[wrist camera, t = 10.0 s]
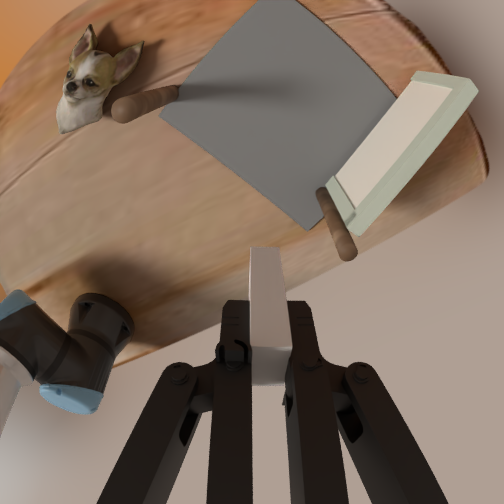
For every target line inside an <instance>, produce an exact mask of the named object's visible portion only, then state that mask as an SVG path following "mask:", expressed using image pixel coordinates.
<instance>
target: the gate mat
mask: <svg viewBox="0 0 504 504" xmlns="http://www.w3.org/2000/svg"><path fill="white" fill-rule="evenodd" d="M178 91H179V96H178V98H177V99H176V100H175V101H174V102H172V103H169V104H167V105H166V106H165V108H164V109H163V110H162V112H161V113H160V114H159V117H160V118H162V119H163V120H164V121H166V122H167V123H169V124H170V125H171V126H173V127H174V128H176V129H177V130H178V131H180V132H181V133H182V134H184V135H185V136H187V137H188V138H189V139H191V140H192V141H193V142H195V143H196V144H197V145H199V146H200V147H201V148H203V149H204V150H205V151H207V152H208V153H209V154H211V155H212V156H213V157H215V158H216V159H217V160H219V161H220V162H221V163H223V164H224V165H225V166H227V167H228V168H229V169H230V170H232V171H233V172H234V173H236V174H237V175H238V176H239V177H241V178H242V179H243V180H245V181H246V182H247V183H248V184H250V185H251V186H252V187H253V188H255V189H256V190H257V191H258V192H260V193H261V194H262V195H264V196H265V197H266V198H267V199H268V200H270V201H271V202H272V203H273V204H275V205H276V206H277V207H278V208H280V209H281V210H282V211H283V212H285V213H286V214H287V215H288V216H289V217H291V218H292V219H293V220H294V221H295V222H297V223H298V224H299V225H300V226H301V227H303V228H304V229H305V230H306V231H308V230H310V229H311V228H312V227H313V226H314V225H315V224H316V223H317V222H318V221H319V220H320V219H322V218H323V217H324V215H323V212H322V210H321V207H320V205H319V202H318V200H317V198H316V195H315V192H316V190H317V189H318V188H320V187H325V188H326V186H325V185H326V183H327V182H328V181H329V180H330V178H331V177H332V176H334V177H335V176H336V174H337V173H338V172H339V171H340V169H341V168H342V167H343V166H344V164H345V163H346V162H347V161H348V160H349V158H350V157H351V156H352V155H353V153H354V152H355V151H356V150H357V148H358V147H359V146H360V145H361V144H362V142H363V141H364V140H365V139H366V137H367V136H368V135H369V134H370V132H371V131H372V130H373V129H374V127H375V126H376V125H377V124H378V122H379V121H380V120H381V119H382V117H383V116H384V115H385V114H386V112H387V111H388V110H389V109H390V107H391V106H392V105H393V104H394V102H395V101H396V100H397V99H396V97H395V96H394V95H393V94H392V93H391V91H390V90H389V89H388V88H387V87H386V86H385V84H384V83H383V82H382V81H381V80H380V79H379V78H378V77H377V75H376V74H375V73H374V72H373V71H372V70H371V69H370V68H369V67H368V66H367V65H366V64H365V63H364V62H363V60H362V59H361V58H360V57H359V56H358V55H357V54H356V53H355V52H354V51H353V50H352V49H351V48H350V47H349V46H347V45H346V44H345V43H344V42H343V41H342V40H341V39H340V38H339V37H338V36H337V35H336V34H335V33H334V32H333V31H331V30H330V29H329V28H328V27H327V26H326V25H325V24H323V23H322V22H321V21H320V20H319V19H318V18H316V17H315V16H314V15H313V14H312V13H310V12H309V11H308V10H307V9H305V8H304V7H303V6H302V5H300V4H299V3H298V2H297V1H295V0H258V1H257V2H256V3H255V4H254V5H253V6H252V7H251V8H250V9H249V10H248V11H247V12H246V13H245V14H244V15H243V16H242V17H241V18H240V19H239V20H238V21H237V22H236V23H235V24H234V25H233V26H232V27H231V28H230V29H229V30H228V31H227V32H226V34H225V35H224V36H223V37H222V38H221V39H220V40H219V41H218V42H217V43H216V44H215V46H214V47H213V48H212V49H211V50H210V51H209V52H208V54H207V55H206V56H205V57H204V58H203V59H202V60H201V62H200V63H199V64H198V65H197V66H196V68H195V69H194V70H193V71H192V73H191V74H190V75H189V76H188V77H187V79H186V80H185V81H184V82H183V84H182V85H181V86H180V88H179V89H178Z"/></svg>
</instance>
